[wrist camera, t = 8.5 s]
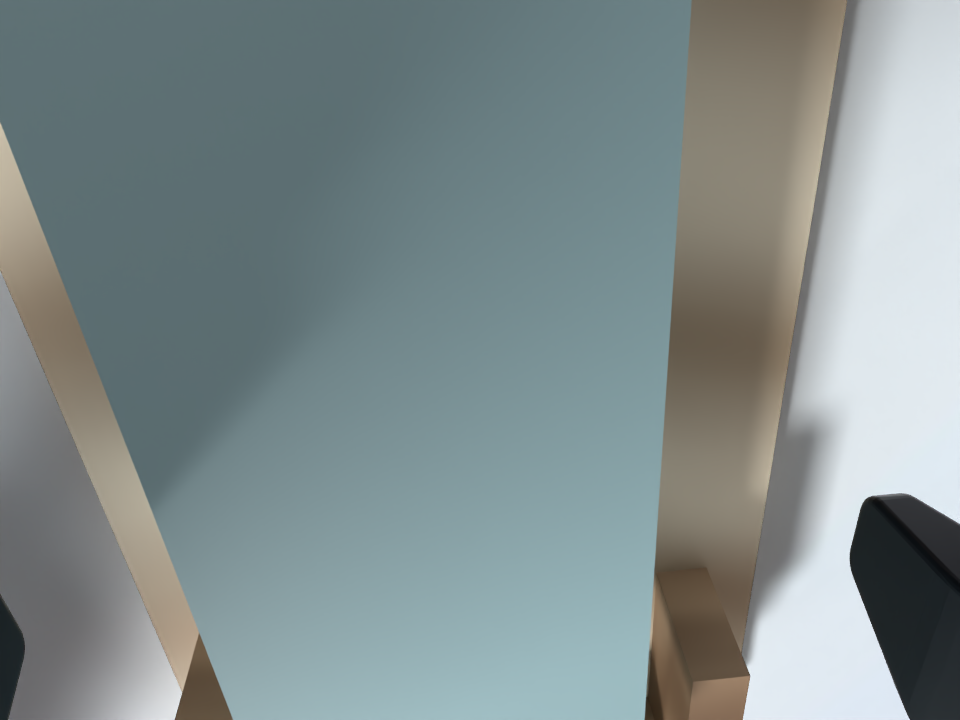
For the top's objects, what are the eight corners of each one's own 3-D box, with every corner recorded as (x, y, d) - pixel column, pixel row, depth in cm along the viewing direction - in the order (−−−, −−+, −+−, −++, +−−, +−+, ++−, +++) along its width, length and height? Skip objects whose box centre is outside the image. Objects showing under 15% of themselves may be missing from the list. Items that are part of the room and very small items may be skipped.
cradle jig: (716, 687, 20) (768, 834, 17) (227, 737, 20) (194, 895, 17) (930, -826, 8) (1258, -1258, 5) (-365, -737, 7) (-891, -1132, 4)
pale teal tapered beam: (579, 644, 17) (632, 905, 13) (343, 668, 17) (318, 939, 13) (572, -480, 8) (746, -856, 4) (62, -441, 8) (-353, -783, 4)
